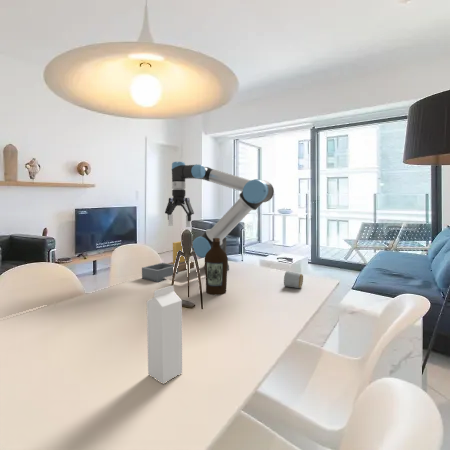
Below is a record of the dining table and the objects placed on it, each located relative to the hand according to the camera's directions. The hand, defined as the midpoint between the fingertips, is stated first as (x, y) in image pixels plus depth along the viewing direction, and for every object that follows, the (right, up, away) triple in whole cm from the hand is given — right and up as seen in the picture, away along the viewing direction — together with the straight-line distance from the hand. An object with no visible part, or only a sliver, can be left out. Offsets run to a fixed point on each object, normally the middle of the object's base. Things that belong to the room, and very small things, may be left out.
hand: (179, 226), depth 175 cm
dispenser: (0, -26, +3) cm, 27 cm away
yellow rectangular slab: (0, -25, +2) cm, 25 cm away
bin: (-9, -28, -11) cm, 31 cm away
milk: (+12, -36, -100) cm, 107 cm away
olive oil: (+22, -30, -35) cm, 52 cm away
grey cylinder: (+60, -30, -26) cm, 72 cm away
